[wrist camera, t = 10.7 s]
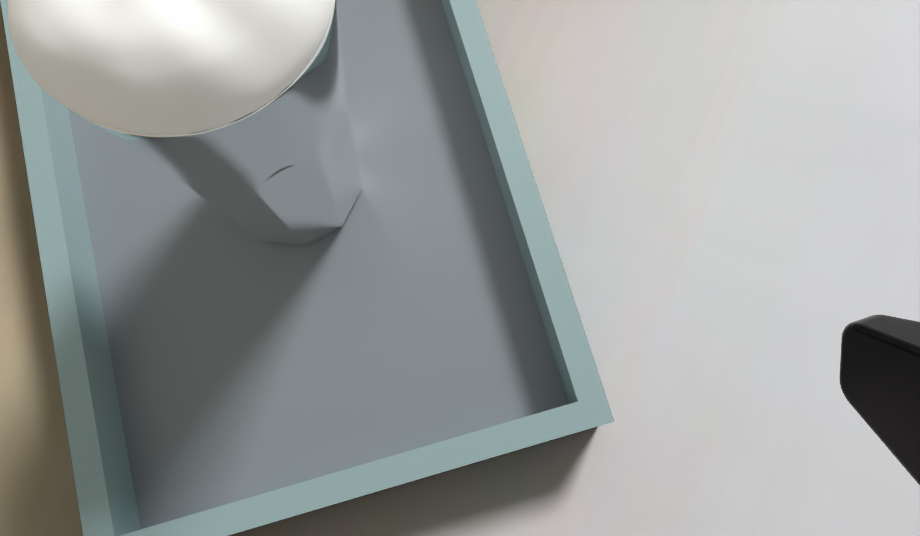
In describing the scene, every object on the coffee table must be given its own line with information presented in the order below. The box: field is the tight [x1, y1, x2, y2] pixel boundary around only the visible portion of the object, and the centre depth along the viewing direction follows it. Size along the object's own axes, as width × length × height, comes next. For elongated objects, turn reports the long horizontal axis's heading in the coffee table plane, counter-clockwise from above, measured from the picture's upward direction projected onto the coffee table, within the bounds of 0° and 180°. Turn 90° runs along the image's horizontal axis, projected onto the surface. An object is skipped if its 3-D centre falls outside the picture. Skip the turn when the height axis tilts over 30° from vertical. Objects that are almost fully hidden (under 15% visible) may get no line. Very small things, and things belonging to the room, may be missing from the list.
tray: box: [0, 0, 614, 536], centre depth 18 cm, size 16×11×2 cm
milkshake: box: [8, 0, 362, 246], centre depth 14 cm, size 4×5×10 cm
